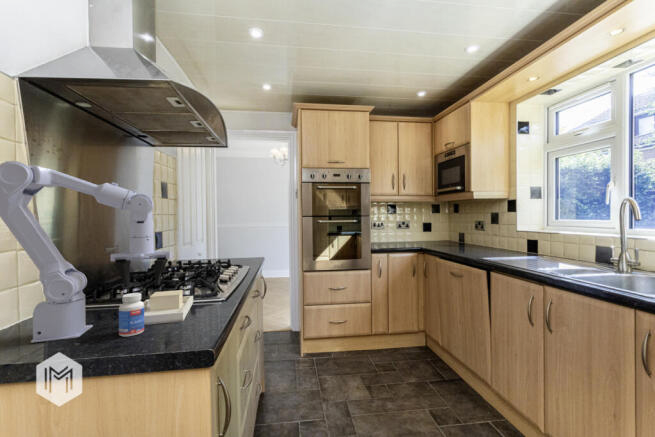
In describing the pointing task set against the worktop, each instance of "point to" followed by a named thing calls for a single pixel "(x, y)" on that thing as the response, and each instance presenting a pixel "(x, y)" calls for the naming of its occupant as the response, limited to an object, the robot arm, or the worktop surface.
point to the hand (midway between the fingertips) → (142, 285)
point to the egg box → (166, 300)
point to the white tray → (167, 313)
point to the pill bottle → (131, 315)
